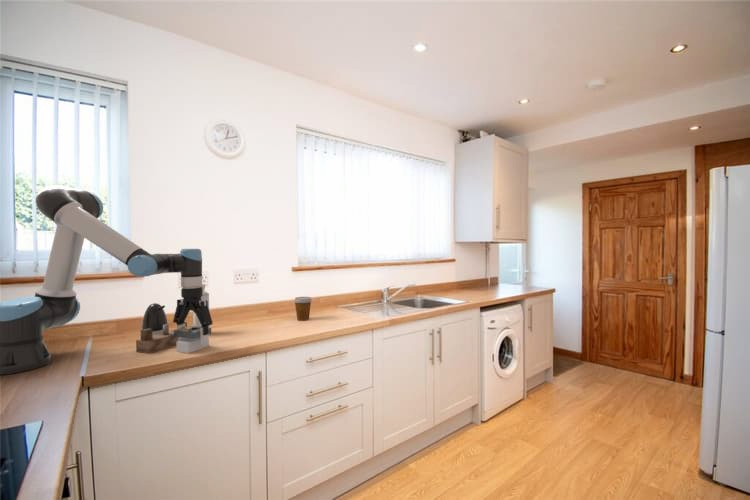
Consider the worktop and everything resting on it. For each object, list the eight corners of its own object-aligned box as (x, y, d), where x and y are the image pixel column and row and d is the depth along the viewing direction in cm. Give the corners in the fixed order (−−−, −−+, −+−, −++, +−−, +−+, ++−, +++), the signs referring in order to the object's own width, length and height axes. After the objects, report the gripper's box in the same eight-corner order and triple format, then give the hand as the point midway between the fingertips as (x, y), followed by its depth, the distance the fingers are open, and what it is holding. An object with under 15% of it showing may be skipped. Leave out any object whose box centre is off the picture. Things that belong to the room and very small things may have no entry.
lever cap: (194, 339, 131) (194, 329, 130) (173, 336, 134) (173, 327, 134) (211, 333, 138) (211, 324, 138) (191, 331, 142) (190, 322, 142)
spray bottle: (191, 334, 158) (190, 280, 158) (206, 331, 163) (205, 279, 163) (196, 336, 154) (195, 281, 153) (212, 333, 159) (211, 280, 158)
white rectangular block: (188, 353, 131) (187, 342, 130) (176, 351, 133) (176, 341, 133) (208, 345, 140) (208, 336, 140) (197, 344, 142) (197, 334, 142)
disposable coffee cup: (315, 318, 188) (315, 297, 188) (303, 322, 180) (303, 299, 180) (303, 316, 193) (302, 296, 193) (290, 320, 185) (290, 298, 185)
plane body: (148, 353, 131) (148, 331, 131) (136, 351, 133) (135, 329, 133) (192, 339, 150) (192, 320, 149) (181, 337, 152) (180, 319, 152)
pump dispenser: (155, 340, 149) (155, 305, 148) (135, 339, 151) (135, 305, 151) (173, 334, 159) (173, 301, 158) (155, 333, 161) (154, 301, 161)
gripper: (221, 287, 135) (222, 341, 136) (178, 284, 143) (179, 336, 144) (206, 289, 128) (207, 347, 129) (162, 287, 136) (163, 341, 137)
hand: (192, 341), depth 136 cm, fingers closed on lever cap, 11 cm apart
